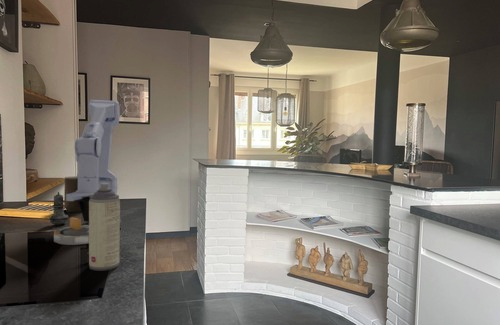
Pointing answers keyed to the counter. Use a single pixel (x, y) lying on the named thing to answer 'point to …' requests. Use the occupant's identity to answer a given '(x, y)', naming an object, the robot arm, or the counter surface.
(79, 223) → the dial
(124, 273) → the counter surface
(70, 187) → the pillar candle
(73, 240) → the dial plate
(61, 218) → the grey chess piece
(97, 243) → the aerosol can
